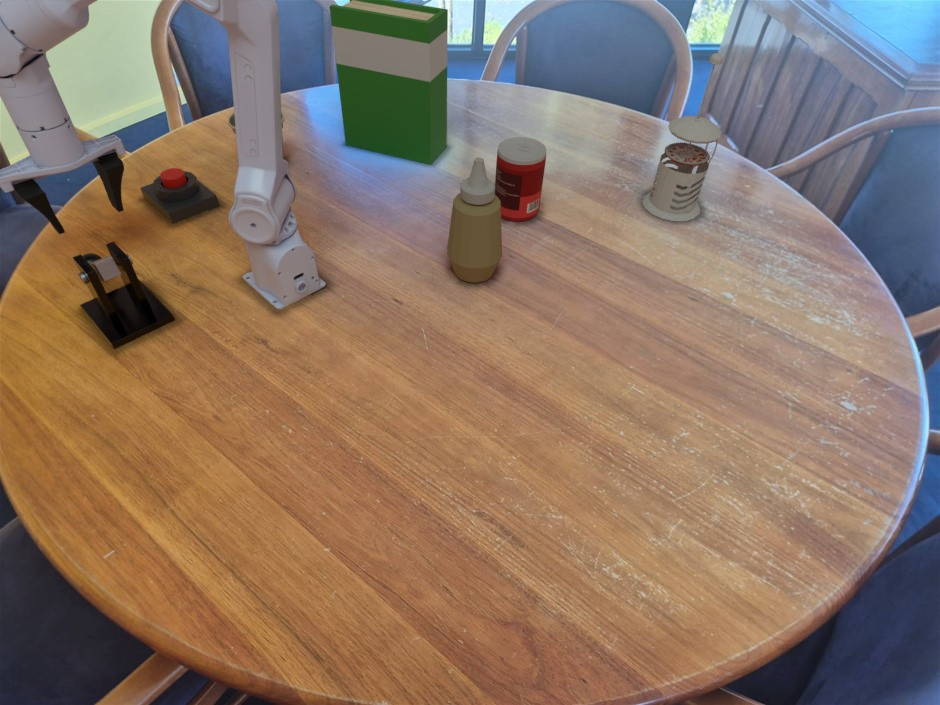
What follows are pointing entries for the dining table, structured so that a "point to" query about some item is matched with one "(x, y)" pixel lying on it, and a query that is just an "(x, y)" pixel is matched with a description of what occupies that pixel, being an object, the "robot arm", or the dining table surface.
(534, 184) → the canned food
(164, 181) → the button
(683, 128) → the french press
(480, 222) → the squeeze bottle
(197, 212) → the button box
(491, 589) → the dining table surface
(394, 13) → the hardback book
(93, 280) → the bracket
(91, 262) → the lever
